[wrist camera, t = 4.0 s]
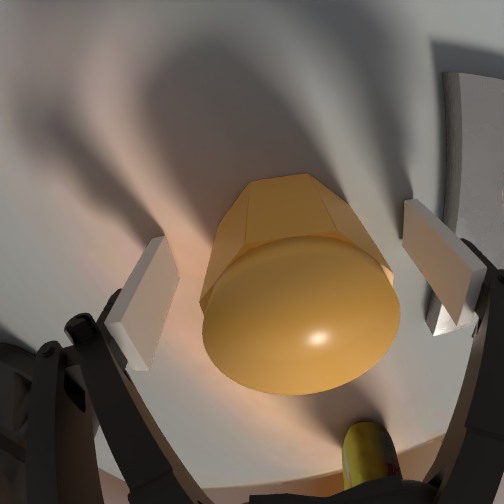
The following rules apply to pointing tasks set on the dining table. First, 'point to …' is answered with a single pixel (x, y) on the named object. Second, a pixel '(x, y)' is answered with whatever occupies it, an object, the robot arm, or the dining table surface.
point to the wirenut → (296, 290)
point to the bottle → (368, 454)
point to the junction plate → (473, 174)
